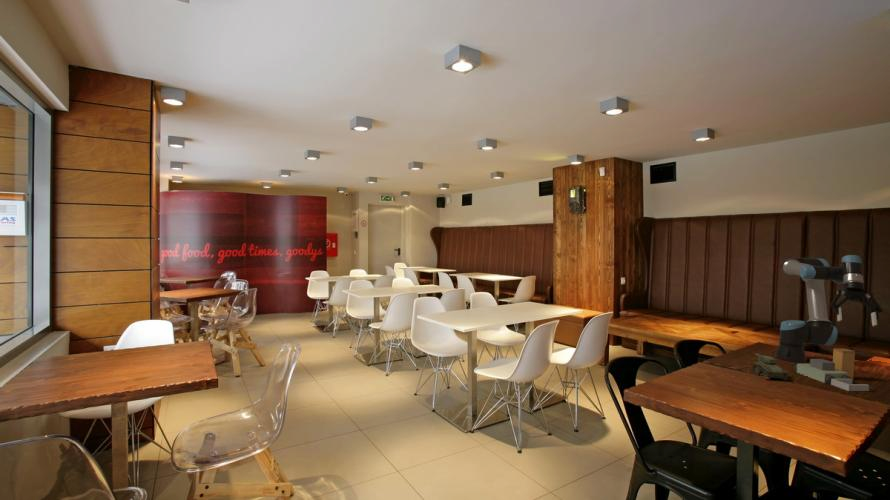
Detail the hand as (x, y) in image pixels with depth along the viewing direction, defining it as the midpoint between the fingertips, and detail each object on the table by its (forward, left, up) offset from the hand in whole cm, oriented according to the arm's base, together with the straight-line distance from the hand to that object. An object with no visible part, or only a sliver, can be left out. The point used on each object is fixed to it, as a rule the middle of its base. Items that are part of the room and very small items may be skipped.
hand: (857, 323), depth 216 cm
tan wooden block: (-13, +8, -32) cm, 35 cm away
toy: (-16, -32, -32) cm, 48 cm away
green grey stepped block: (-8, -4, -32) cm, 33 cm away
